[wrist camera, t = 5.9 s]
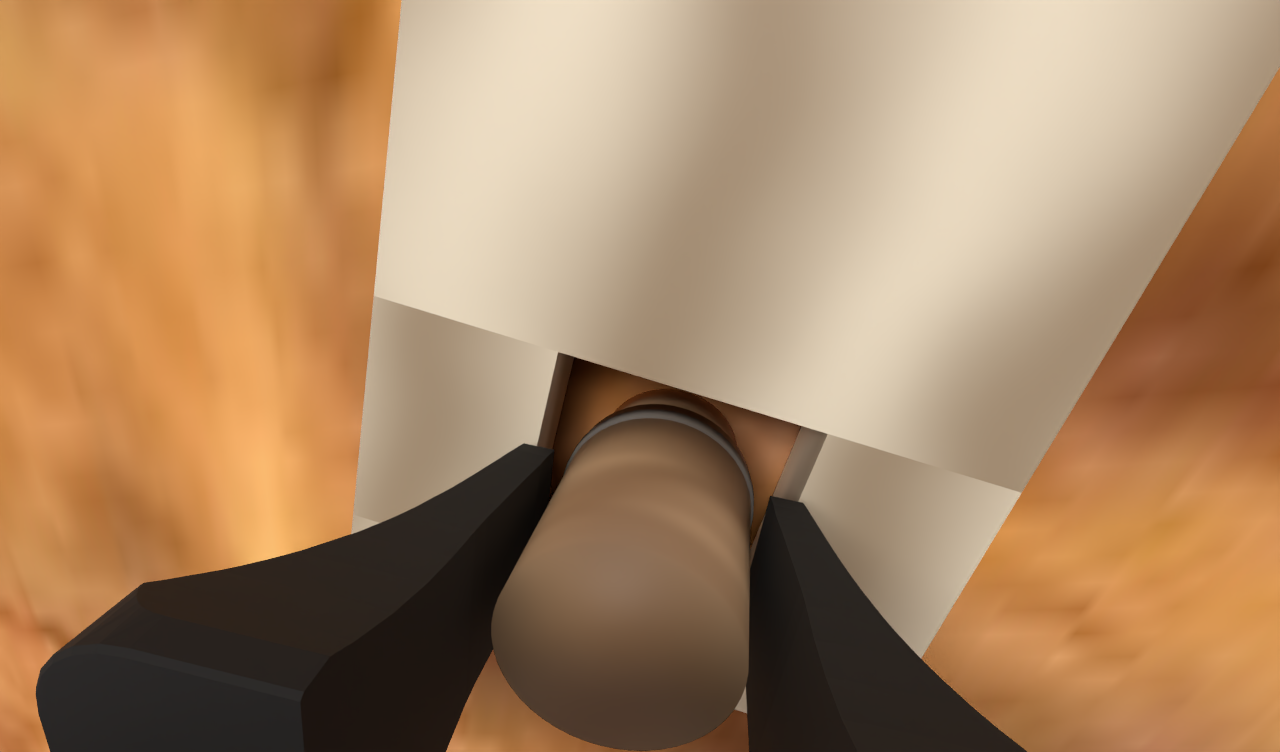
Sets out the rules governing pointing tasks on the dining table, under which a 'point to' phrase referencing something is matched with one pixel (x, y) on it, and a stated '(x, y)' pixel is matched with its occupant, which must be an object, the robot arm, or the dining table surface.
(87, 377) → the dining table surface
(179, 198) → the dining table surface
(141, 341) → the dining table surface
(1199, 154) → the board
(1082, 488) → the dining table surface
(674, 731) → the peg
